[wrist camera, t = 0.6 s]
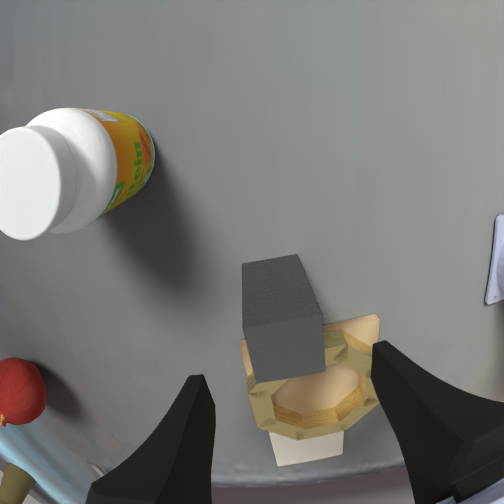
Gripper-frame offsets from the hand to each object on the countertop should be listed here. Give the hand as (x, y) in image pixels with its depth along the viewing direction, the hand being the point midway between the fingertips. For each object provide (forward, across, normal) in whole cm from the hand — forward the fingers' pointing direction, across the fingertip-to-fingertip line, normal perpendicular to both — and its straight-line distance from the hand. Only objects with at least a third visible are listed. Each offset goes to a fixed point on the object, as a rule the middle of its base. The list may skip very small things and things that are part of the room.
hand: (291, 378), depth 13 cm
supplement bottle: (+9, +8, -10) cm, 16 cm away
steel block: (+9, 0, 0) cm, 9 cm away
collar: (+9, -2, +9) cm, 13 cm away
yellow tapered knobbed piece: (+9, +48, +31) cm, 58 cm away
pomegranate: (+9, +23, +5) cm, 25 cm away
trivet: (+9, -1, +18) cm, 21 cm away
